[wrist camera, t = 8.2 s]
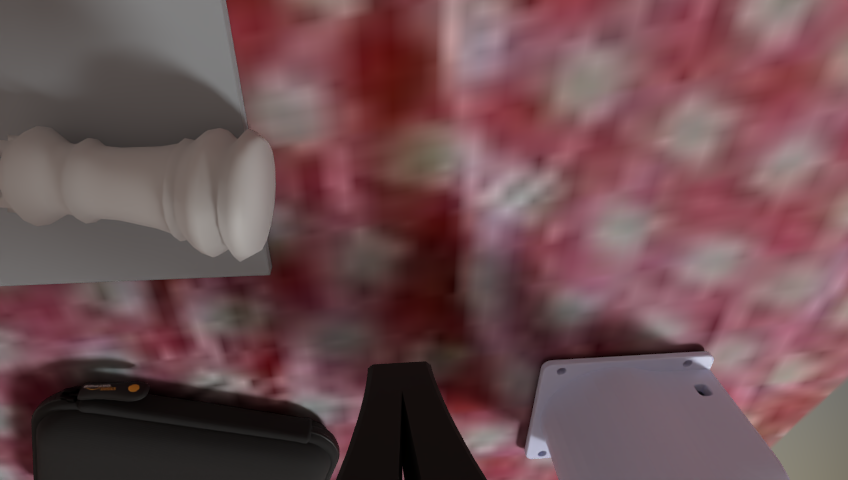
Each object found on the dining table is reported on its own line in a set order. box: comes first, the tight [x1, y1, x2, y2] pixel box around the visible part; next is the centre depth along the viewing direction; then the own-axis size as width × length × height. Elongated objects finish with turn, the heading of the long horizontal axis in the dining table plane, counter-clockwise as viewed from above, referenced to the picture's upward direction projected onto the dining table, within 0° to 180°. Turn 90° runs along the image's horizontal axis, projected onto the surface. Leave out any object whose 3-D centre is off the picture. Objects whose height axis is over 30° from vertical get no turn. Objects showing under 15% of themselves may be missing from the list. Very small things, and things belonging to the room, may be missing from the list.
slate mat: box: [0, 0, 272, 286], centre depth 18 cm, size 14×11×1 cm
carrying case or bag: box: [31, 381, 339, 480], centre depth 27 cm, size 11×3×15 cm
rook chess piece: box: [0, 126, 276, 262], centre depth 17 cm, size 4×4×8 cm
